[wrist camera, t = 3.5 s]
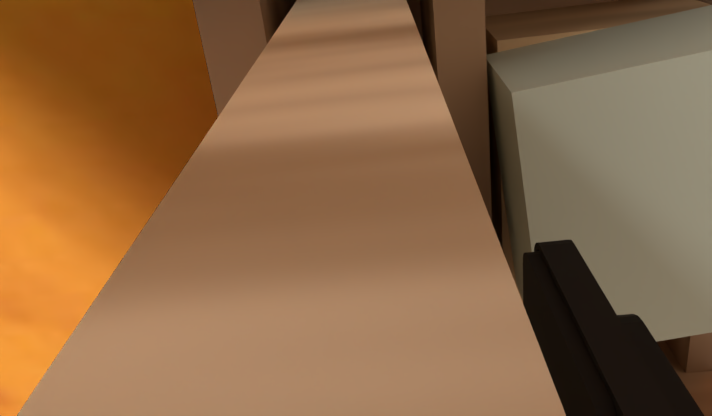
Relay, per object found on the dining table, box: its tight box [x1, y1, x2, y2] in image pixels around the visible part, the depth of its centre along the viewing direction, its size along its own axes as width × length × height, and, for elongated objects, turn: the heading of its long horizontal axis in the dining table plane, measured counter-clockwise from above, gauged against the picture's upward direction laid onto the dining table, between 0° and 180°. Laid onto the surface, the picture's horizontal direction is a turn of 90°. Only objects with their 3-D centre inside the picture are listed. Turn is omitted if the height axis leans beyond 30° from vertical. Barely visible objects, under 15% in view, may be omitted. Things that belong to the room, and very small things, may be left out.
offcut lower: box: [485, 0, 710, 302], centre depth 17 cm, size 8×5×3 cm, turn 7°
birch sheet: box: [17, 0, 566, 416], centre depth 11 cm, size 10×2×16 cm, turn 7°
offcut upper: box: [486, 5, 712, 342], centre depth 14 cm, size 6×5×3 cm
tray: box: [193, 0, 712, 416], centre depth 16 cm, size 16×12×6 cm
